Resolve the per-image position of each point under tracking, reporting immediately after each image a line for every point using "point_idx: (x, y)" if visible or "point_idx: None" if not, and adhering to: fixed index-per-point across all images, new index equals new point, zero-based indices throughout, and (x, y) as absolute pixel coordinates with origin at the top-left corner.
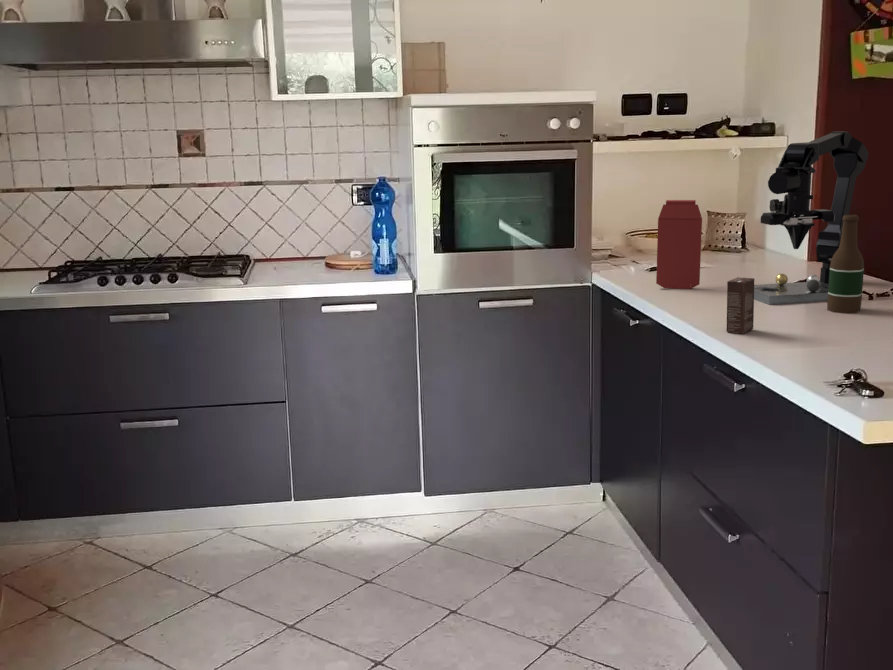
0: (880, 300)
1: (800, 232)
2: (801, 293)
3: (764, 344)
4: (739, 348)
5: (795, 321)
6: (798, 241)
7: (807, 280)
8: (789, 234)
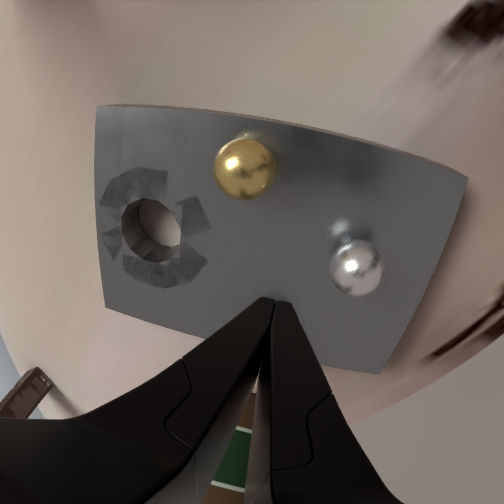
0: (441, 369)
1: (247, 492)
2: (210, 331)
3: (59, 414)
4: (38, 405)
5: (118, 396)
6: (244, 404)
7: (330, 263)
8: (152, 387)
